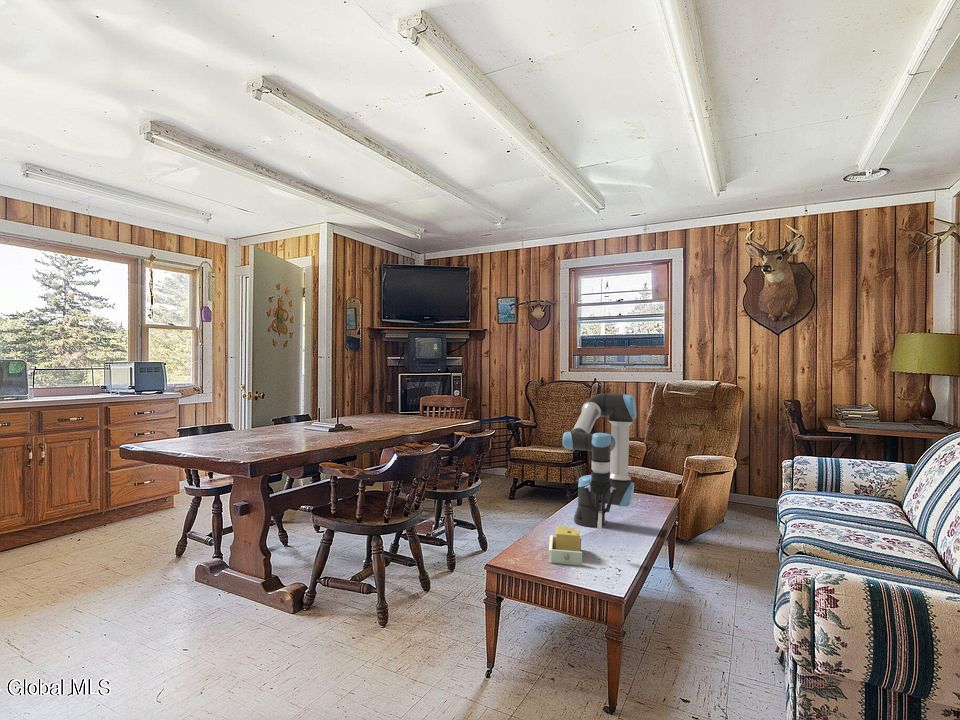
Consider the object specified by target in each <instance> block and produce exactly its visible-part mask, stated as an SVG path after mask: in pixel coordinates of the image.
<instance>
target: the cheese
mask: <svg viewBox="0 0 960 720" xmlns="http://www.w3.org/2000/svg"><path fill="white" fill-rule="evenodd" d="M555 528H556V529H555V536H556V548H555V549H556V550H567V551H579V552H581V550H580V538H581V530H578V529H575V528H573V527H569V526H565V525H564V526H563V525H556V527H555Z"/></svg>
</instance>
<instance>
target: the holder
mask: <svg viewBox="0 0 960 720" xmlns="http://www.w3.org/2000/svg"><path fill="white" fill-rule="evenodd" d="M549 563H550V564H551V563H552V564H561V565H571V566H572V565H574V566H583V551H582V537H580V552H579V551H567V550H556V535H551V534H550V535H549V544H548V564H549Z"/></svg>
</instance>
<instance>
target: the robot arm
mask: <svg viewBox="0 0 960 720" xmlns="http://www.w3.org/2000/svg"><path fill="white" fill-rule="evenodd" d="M636 405H637V404H636V400H635V398H634V396H633V395H631V394H624V393H623V394H622V393H621V394H620V393H598V394H595V395H593V396H592V397H590V398H588V399H587V400H586V401H585V402H584V403H583V405H582V407H581V413H580V415H579V416H578V419H577V421H576V423H575V425H574V427H573V428H572V430H571V431H565V432H564V433H563V435H562V447H564V449H567V450H572V451H573V450H575V451H576V450H577V451H585V452H586V451H587V452H591V474H588V475H587V474H586V475H583V476H580V478H579V479H578V485H577V487H578V489H577V508H576V511H575V513H574V515H573V516H574V517H573V522H574V523H575V524H577V525H579V526H583V527H589V528H590V527H591V528H596V527H597V529H598V530H603V529H602V528H603V526H604V525H605V524H606V519H605V518H606V517H605V516H606V513H609V512H610V509H611V507H612V505H613V506H619V507H629V506H630V505H631V503H632V500H633V496H634V491H635V483H634V482H632V478H631V477H630V476H629V454H630V452H629V449H630V426H631V425H632V424H633V422H634V420H637V406H636ZM601 417H603V418H608V422H609V424H610V425H611V431H610V433H605V432H595V433H591V432H592V429H593V427H594V425H595V423H596V421H597V420H598V419H599V418H601Z"/></svg>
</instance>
